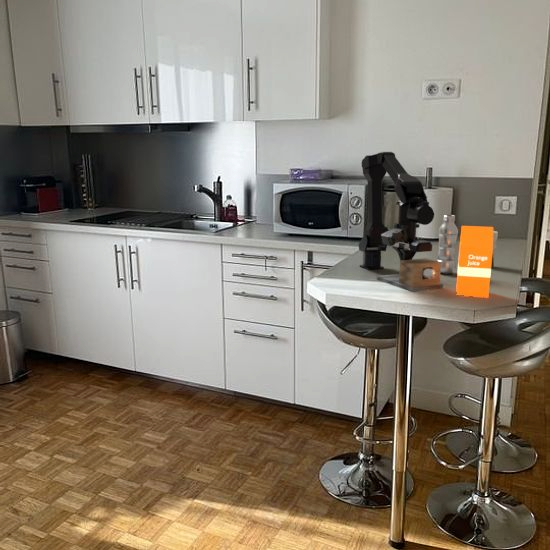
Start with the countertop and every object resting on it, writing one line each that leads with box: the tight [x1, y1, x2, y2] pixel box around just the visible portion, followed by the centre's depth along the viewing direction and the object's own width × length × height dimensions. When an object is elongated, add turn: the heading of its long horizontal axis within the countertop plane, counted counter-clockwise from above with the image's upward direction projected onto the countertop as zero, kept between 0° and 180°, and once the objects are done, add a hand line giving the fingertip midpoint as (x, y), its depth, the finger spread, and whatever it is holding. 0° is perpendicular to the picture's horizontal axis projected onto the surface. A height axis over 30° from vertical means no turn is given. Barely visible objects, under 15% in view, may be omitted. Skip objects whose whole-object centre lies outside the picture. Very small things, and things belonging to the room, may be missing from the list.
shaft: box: [423, 268, 437, 280], centre depth 169 cm, size 12×5×5 cm, turn 25°
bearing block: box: [376, 257, 444, 292], centre depth 174 cm, size 18×12×8 cm, turn 25°
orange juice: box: [455, 225, 494, 299], centre depth 160 cm, size 8×9×20 cm
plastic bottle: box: [436, 214, 459, 275], centre depth 187 cm, size 6×7×20 cm
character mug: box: [491, 230, 499, 268], centre depth 199 cm, size 11×7×13 cm, turn 3°
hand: (404, 269), depth 176 cm, fingers closed
